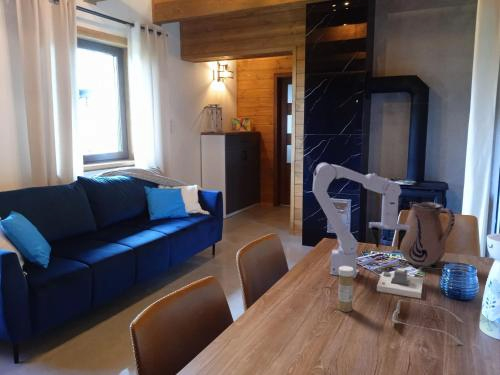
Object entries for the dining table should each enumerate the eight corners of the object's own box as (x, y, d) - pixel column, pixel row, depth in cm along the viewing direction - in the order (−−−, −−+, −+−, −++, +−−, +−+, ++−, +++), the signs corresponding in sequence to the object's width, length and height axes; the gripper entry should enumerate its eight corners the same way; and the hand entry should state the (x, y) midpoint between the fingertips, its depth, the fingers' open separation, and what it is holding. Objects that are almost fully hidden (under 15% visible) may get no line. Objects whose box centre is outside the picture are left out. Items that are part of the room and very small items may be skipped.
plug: (393, 288, 138) (394, 270, 137) (394, 284, 141) (395, 266, 140) (405, 290, 136) (406, 272, 135) (406, 286, 140) (407, 268, 139)
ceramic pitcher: (409, 253, 175) (413, 198, 171) (460, 265, 160) (465, 205, 156) (390, 262, 164) (393, 203, 160) (442, 276, 148) (447, 211, 144)
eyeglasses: (398, 309, 124) (399, 297, 123) (463, 322, 115) (464, 309, 114) (390, 331, 110) (391, 318, 110) (463, 348, 102) (465, 334, 101)
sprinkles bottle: (346, 304, 126) (347, 264, 124) (355, 310, 122) (357, 269, 120) (334, 307, 124) (335, 266, 122) (343, 313, 120) (345, 271, 118)
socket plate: (376, 291, 136) (377, 283, 135) (382, 276, 148) (382, 270, 148) (420, 298, 130) (421, 291, 129) (422, 283, 142) (423, 276, 142)
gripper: (367, 213, 147) (366, 248, 149) (409, 216, 141) (407, 253, 143) (371, 209, 153) (369, 243, 156) (410, 212, 147) (409, 247, 149)
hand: (388, 247), depth 150 cm, fingers open, 7 cm apart
